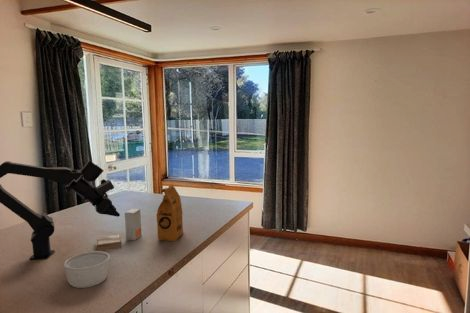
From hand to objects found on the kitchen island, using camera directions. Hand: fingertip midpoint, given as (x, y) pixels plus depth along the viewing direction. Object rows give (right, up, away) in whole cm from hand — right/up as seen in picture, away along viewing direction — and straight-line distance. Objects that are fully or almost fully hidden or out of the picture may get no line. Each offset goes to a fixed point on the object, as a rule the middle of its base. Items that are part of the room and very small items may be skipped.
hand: (117, 212), depth 136 cm
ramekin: (+2, -16, -31) cm, 35 cm away
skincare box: (+6, -12, +4) cm, 14 cm away
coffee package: (+21, -11, +5) cm, 24 cm away
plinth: (-2, -13, -3) cm, 13 cm away
